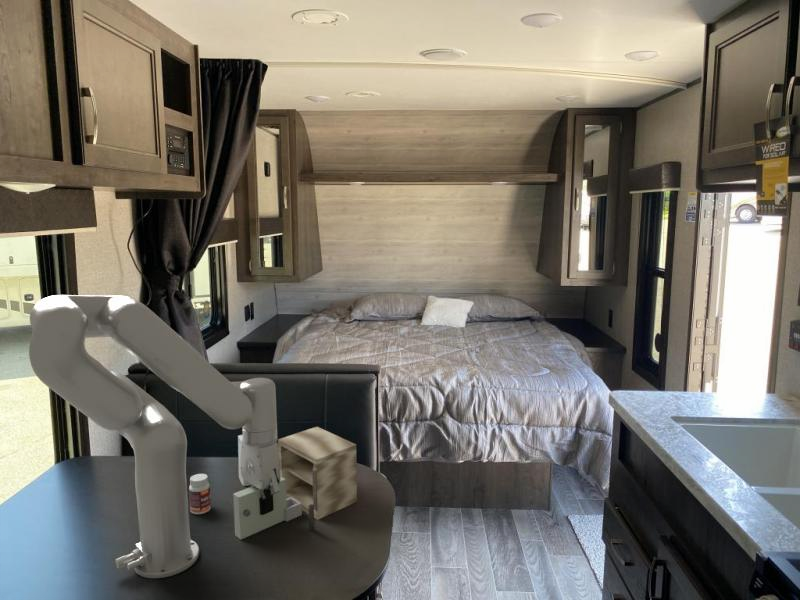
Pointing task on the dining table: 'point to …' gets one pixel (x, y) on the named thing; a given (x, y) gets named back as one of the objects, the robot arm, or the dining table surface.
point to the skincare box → (243, 481)
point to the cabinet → (319, 471)
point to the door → (249, 510)
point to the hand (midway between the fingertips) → (263, 509)
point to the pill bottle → (199, 494)
